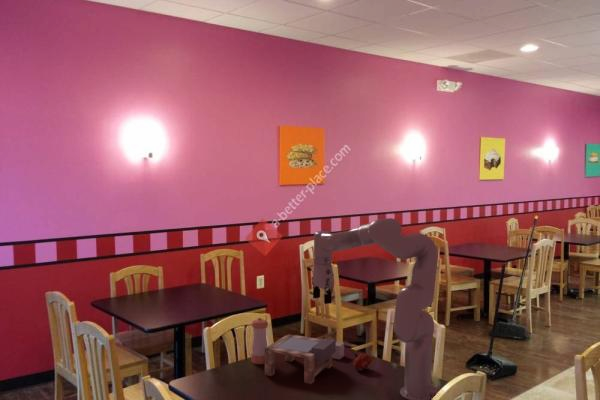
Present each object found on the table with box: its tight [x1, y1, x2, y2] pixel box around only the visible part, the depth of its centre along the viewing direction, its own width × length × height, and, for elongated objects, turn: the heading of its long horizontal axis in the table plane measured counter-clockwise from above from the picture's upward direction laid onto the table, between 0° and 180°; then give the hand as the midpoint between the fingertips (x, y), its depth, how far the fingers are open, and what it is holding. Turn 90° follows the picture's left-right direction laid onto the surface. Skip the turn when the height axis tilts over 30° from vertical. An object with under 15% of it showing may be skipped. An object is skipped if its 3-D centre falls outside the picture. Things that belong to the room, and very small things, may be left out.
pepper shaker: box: [250, 317, 269, 365], centre depth 231 cm, size 7×7×19 cm
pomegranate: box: [353, 352, 373, 372], centre depth 222 cm, size 7×7×10 cm
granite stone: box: [332, 341, 345, 360], centre depth 238 cm, size 5×5×6 cm
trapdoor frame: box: [264, 333, 333, 385], centre depth 221 cm, size 21×21×11 cm
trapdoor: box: [276, 337, 337, 362], centre depth 219 cm, size 21×14×5 cm
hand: (322, 300), depth 226 cm, fingers open, 9 cm apart
